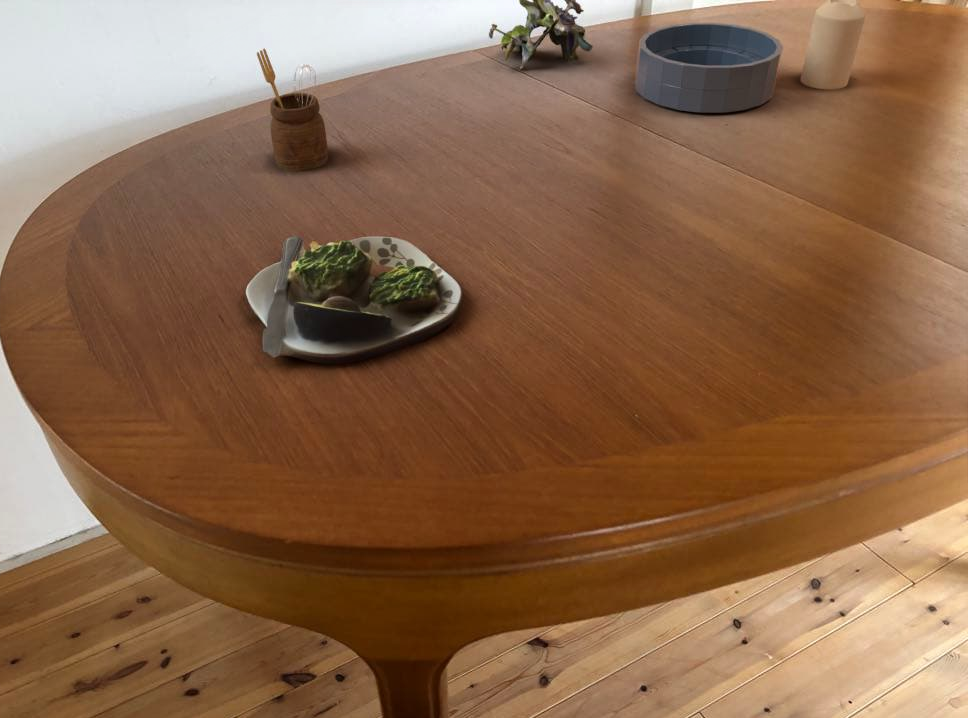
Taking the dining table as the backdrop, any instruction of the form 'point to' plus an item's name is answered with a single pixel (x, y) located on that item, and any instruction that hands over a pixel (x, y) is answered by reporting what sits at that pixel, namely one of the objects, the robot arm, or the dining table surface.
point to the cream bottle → (833, 44)
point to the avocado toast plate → (351, 300)
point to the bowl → (707, 67)
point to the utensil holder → (295, 125)
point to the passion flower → (546, 30)
